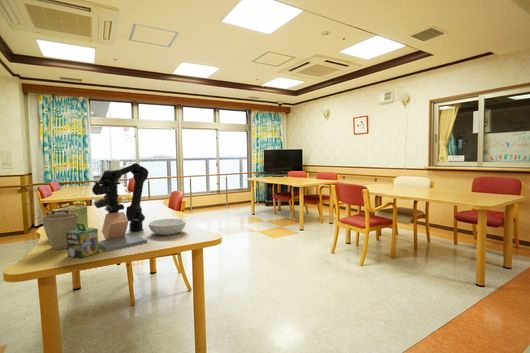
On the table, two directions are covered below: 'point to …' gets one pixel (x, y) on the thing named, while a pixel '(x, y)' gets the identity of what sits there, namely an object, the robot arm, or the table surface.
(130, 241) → the board
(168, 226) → the serving bowl
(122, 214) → the terracotta carton
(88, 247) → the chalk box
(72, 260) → the table surface
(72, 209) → the protein box
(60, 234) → the plant pot
